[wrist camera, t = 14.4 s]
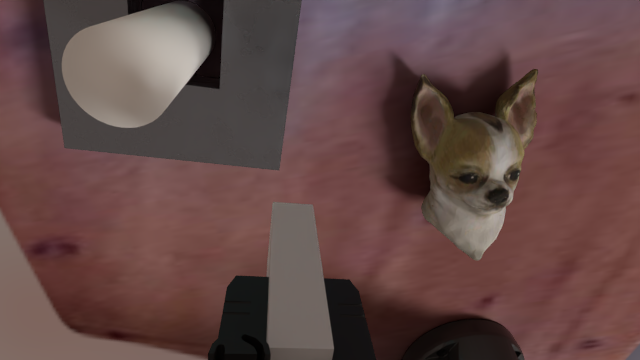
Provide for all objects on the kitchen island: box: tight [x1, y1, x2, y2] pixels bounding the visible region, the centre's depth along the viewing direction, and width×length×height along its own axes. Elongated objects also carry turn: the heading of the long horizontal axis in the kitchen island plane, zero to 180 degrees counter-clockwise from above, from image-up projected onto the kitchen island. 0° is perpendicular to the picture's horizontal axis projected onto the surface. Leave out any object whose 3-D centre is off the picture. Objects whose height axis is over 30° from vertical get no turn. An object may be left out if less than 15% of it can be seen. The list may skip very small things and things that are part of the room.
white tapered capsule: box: [62, 0, 216, 128], centre depth 23 cm, size 4×4×14 cm
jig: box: [43, 0, 302, 170], centre depth 28 cm, size 18×16×3 cm
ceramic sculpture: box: [411, 69, 538, 260], centre depth 32 cm, size 11×9×15 cm
